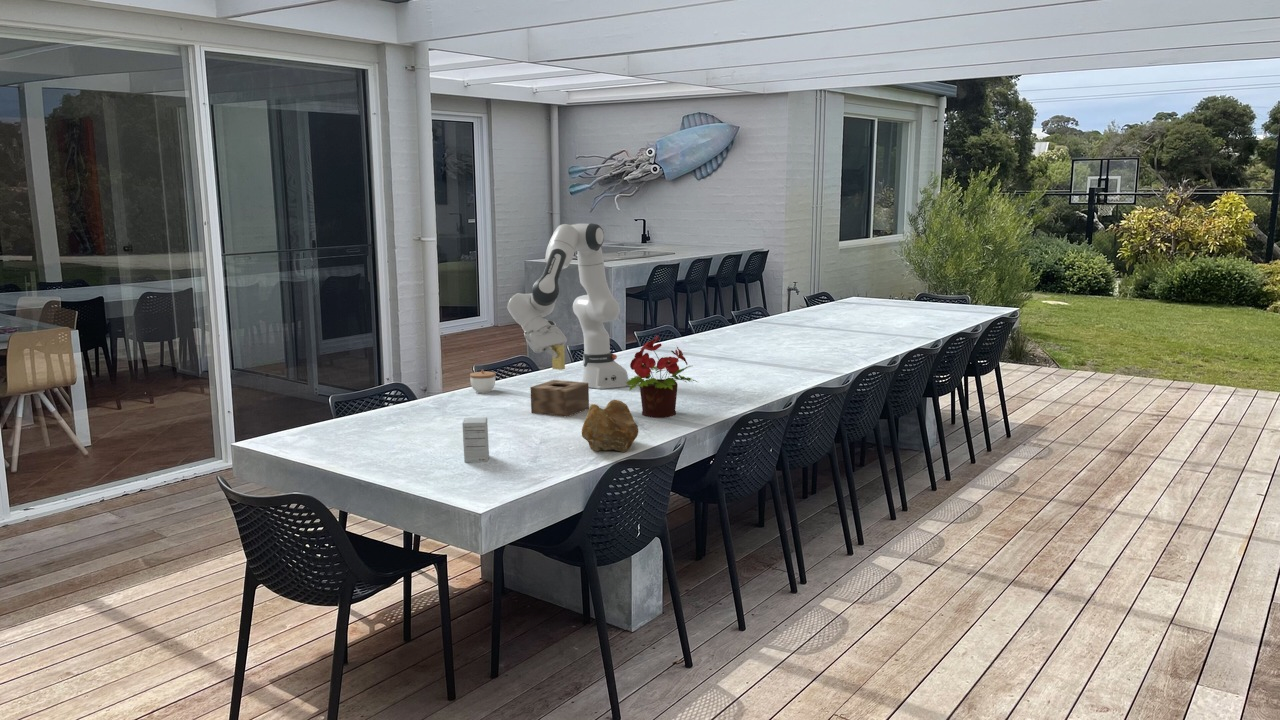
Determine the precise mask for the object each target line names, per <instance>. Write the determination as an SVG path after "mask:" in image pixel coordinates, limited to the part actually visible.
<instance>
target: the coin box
mask: <svg viewBox="0 0 1280 720" xmlns="http://www.w3.org/2000/svg"><path fill="white" fill-rule="evenodd" d="M589 389H590V388H589V386H588V383H584V382H582V381H571V380H561V379H560V380H557V379H551V380H549V381H548V380H547V381H545V382H542V383H539V384H536V385H533V386H530V409H531V411H530V412H531V414H537V415H545V414H546V415H545V416H548V415H549V416H554V415H555V416H557V417H564V416H566V417H567V418H568V417H571V416H574V415H576V414H578V413H581V412H583V411H586V410H589V408H590V401H589V400H590V393H589V391H590V390H589ZM585 409H586V410H585ZM580 411H581V412H580ZM575 413H576V414H575ZM570 415H571V416H570ZM566 417H565V418H566Z"/></svg>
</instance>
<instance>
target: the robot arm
mask: <svg viewBox="0 0 1280 720" xmlns="http://www.w3.org/2000/svg"><path fill="white" fill-rule="evenodd" d="M604 240H605V233H604V230H603V228H602V227H601V226H600V225H599V224H597V223H591V222H590V223H573V224H567V223H564V224H563V223H562V224H560V225H558V226H557V227H556V228H555V230H554V231H553V233H552V236H551V237H550V239H549V242H548V245H547V247H546V250H545V258H544V260H545V262H546V265H545V266H544V270H543V273H542V275H541V276H540V277H539V278H538V279H537V280H536V281H535V282H534V283H533V285H532V289H531V293H521V292H517V293H515V294H513V295H512V296H511V297H510V298H509V300H508V301H507V305H506V309H507V311H508V312H509V314H510V316H511V317H512V319H514V321H515V322H516V324H518V325H519V326H521V328H522V330H523V332H524V333H523V334H524V335H523V336H524V338H525V342H526V343H527V345H528V346H529V349H531V350H532V352H534V353H535V354H539V353H542V352H546V353H547V354H548V355H550V356H551V357H552V356H553V357H554V358H557V357H558V356H559V354H558V353H557V352H555V351H554V350H552V346H553V345H564V346H565V345H566V344H567V342H568V338H567V336H565V334H564V332H562V330H561V329H560V328H559V327H557V324H556V322H555V321H553V320H549V319H546V317H548V316H550V315H551V314H552V312H553V311H554V309H555V306H556V301H557V299H558V297H559V293H560V288H559V287H560V285H559V278H560V276H561V273H562V270H564V269H567V268H568V267H569V266H570V264H571V263H572V261H573V258H574V256H575V253H576V252H577V257H576V258H577V269H578V278H579V283H580V285H581V286H582V288H583V289H584V290H585V291H586V294H584V295H579V296H577V297H575V299H574V301H573V304H572V311H573V313H574V315H575V316H576V318H577V319H578V321H579V324H580V327H581V330H582V335H583V350H584V352H583V355H582V361H583V362H582V363H583V375H582V381H581V382H584V383H588V386H589V389H590V388H592V389H598V390H605V389H606V390H607V389H615V388H623V387H631V386H632V385H628V384H626V382H627V381H629V379H630V378H629V374H628V371H627V370H626V369H625V368H624V367H623V366H622V365H621V364H619V363H618V362H617V361H615V360H616V359H617V358H618V355H616V354H615V353H613V352H611V351H610V350H611V347H610V344H611V342H610V340H611V339H610V338H611V337H610V334H609V332H608V331H607V330H606V327H605V325H604V323H611V322H613V321H616V320H617V318H618V317H619V316H620V312H621V307H620V304H619V302H618V301H617V300H616V299H615V297H614V296H613V294H612V292H611V289H610V288H609V284H608V281H607V278H606V277H607V276H606V269H605V260H604V254H603V249H602V246H603V243H604ZM626 385H628V386H626Z"/></svg>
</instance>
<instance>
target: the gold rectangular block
mask: <svg viewBox="0 0 1280 720" xmlns="http://www.w3.org/2000/svg"><path fill="white" fill-rule="evenodd" d="M565 348H566V347H565V345H553V346H552V350H554V351H555V352H557V353H558V354H559V356H558V357H557V358H554V357H553V356H552V355H551V360H552V362H551V365H552V370H560V371H562V370H565V369H566V359H565V358H566V357H565V356H566V354H565Z"/></svg>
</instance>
